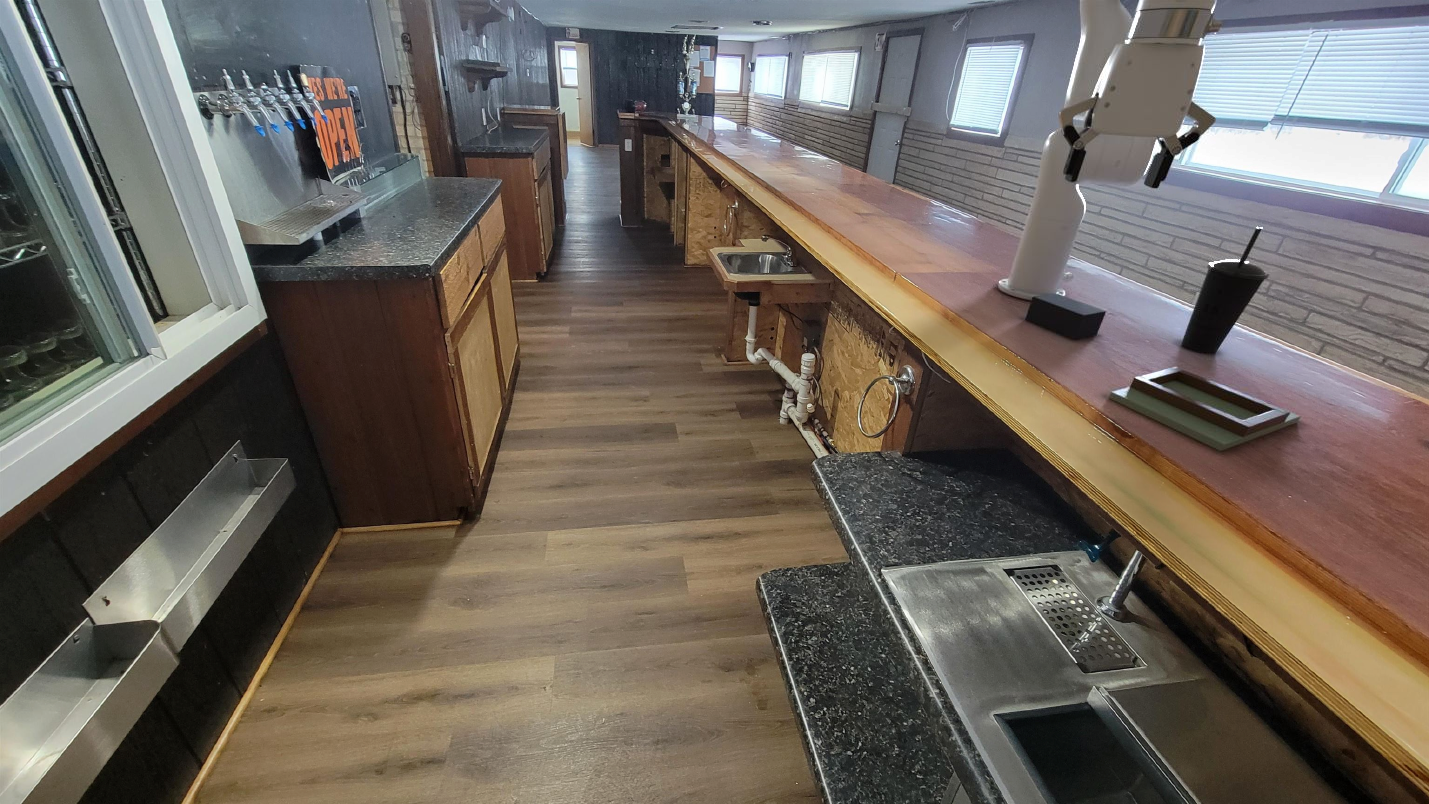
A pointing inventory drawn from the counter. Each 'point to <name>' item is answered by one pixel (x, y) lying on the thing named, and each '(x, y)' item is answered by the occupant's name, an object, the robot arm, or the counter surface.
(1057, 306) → the black rectangular block
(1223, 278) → the drinking cup
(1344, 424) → the counter surface
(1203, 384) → the rectangular tray
